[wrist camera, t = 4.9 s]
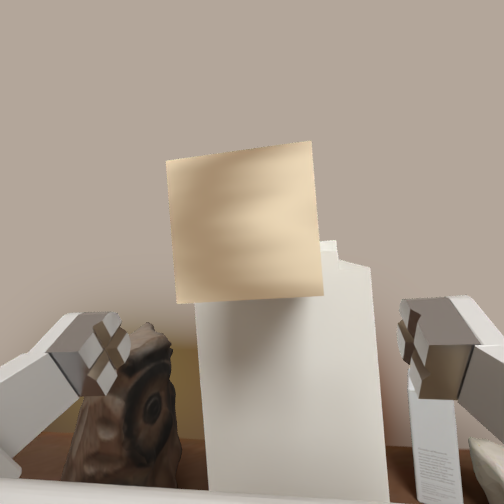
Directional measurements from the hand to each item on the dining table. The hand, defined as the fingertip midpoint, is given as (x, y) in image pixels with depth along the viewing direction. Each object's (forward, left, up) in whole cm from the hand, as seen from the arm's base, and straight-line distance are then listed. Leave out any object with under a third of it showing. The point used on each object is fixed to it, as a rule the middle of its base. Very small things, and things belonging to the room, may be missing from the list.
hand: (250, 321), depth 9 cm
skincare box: (+14, +27, -25) cm, 40 cm away
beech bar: (0, +10, +1) cm, 10 cm away
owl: (-19, +20, -25) cm, 37 cm away
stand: (0, +17, -25) cm, 30 cm away
